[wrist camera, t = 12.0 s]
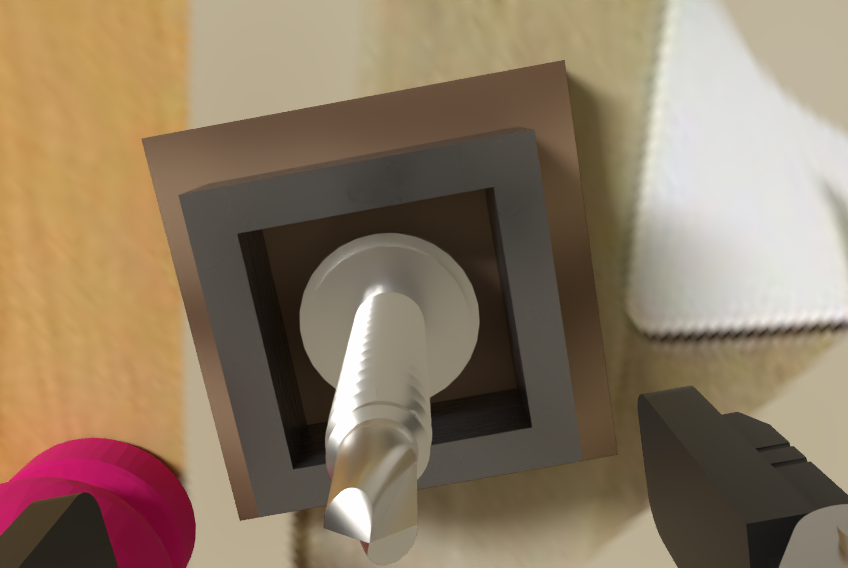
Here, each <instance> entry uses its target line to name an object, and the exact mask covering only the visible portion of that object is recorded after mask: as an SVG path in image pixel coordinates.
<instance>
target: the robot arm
mask: <svg viewBox="0 0 848 568" xmlns="http://www.w3.org/2000/svg"><path fill="white" fill-rule="evenodd" d="M638 416H639V424H640V433H641V441H642V449H643V457H644V465H645V473H646V481H647V489H648V496H649V502H650V506H651V511H652V514H653V518H654V521H655V524H656V527H657V530H658V533H659V535H660V537H661V539H662V541H663V543H664V544H665V546H666V548H667V550H668V551H669V553H670V555H671V556H672V558H673V560H674V562H675V563H676V565H677V567H678V568H848V495H847V494H846V493H845V492H844V491H843V490H842V489H841V488H839V487H838V486H837V485H836V484H835V483H834V482H833V481H832V480H831V479H829V478H828V477H827V476H826V475H825V474H824V473H823V472H822V471H821V470H819V469H818V468H817V467H816V466H815V465H814V464H813V463H812V462H807V459H806V457H805V456H804V455H803V454H802V453H801V452H799V451H798V450H797V449H796V448H795V447H794V446H790V443H789V442H788V441H787V440H786V439H785V438H784V437H783V436H782V435H781V434H779V433H778V432H777V431H776V430H775V429H774V428H773V427H772V426H771V425H769V424H767V423H764V422H762V421H759V420H757V419H754V418H752V417H749V416H747V415H744V414H742V413H739V412H734V413H729V414H723V415H721V414H720V413H719V412H718V411H717V410H716V409H715V408H714V407H713V406H712V405H711V404H710V403H709V402H708V401H707V400H706V399H705V398H704V397H703V396H702V395H701V394H700V393H699V392H698V391H697V390H696V388H694V387H693V386H686V387H681V388H675V389H669V390H664V391H658V392H652V393H647V394H641V395H640V396H639V398H638ZM0 568H118V564H117V561H116V558H115V555H114V551H113V548H112V545H111V542H110V538H109V535H108V532H107V529H106V526H105V522H104V519H103V516H102V513H101V510H100V507H99V504H98V502H97V501H96V499H95V498H94V497H93V496H92V495H91V494H90V493H87V492H83V493H78V494H72V495H66V496H61V497H55V498H50V499H44V500H38V501H34V502H32V503H31V504H30V505H28V506H27V508H26V509H25V510H24V511H23V512H22V513H21V514H20V515H19V516H18V517H17V518H16V519H15V520H14V522H13V523H12V524H11V525H10V526H9V527H8V528H7V529H6V530H5V531H4V532H3V533H2V535H1V536H0Z"/></svg>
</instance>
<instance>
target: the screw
mask: <svg viewBox="0 0 848 568" xmlns="http://www.w3.org/2000/svg"><path fill="white" fill-rule="evenodd" d="M478 330H479V309H478V302H477V299H476V296H475V293H474V290H473V286H472V284H471V282H470V280H469V278H468V277H467V275H466V273H465V271H464V270H463V268H462V267H461V266H460V265H459V263H458V262H457V261H456V260H455V259H454V258H453V257H452V256H451V255H450V254H449V253H448V252H447V251H445V250H444V249H442V248H441V247H439V246H438V245H437V244H435V243H434V242H432V241H429V240H427V239H424V238H422V237H419V236H417V235H414V234H408V233H403V232H397V231H389V232H374V233H370V234H366V235H362V236H358V237H356V238H354V239H352V240H350V241H348V242H346V243H344V244H342V245H340V246H339V247H337V248H336V249H335V250H334V251H333V252H331V253H330V254H329V255H328V256H327V257H325V258H324V260H323V261H322V262H321V263H320V265H319V266H318V267H317V269H316V270H315V271H314V272H313V274H312V276H311V278H310V280H309V282H308V284H307V287H306V289H305V291H304V293H303V298H302V303H301V307H300V332H301V336H302V340H303V344H304V348H305V350H306V352H307V354H308V356H309V358H310V361H311V363H312V365H313V366H314V367H315V368H316V370H317V371H318V372H319V373H320V375H321V376H322V377H323V378H324V380H325V381H327V382H328V383H329V384H330V385H332V386H333V387H334V388H335V389H336V392H335V396H334V400H333V403H332V408H331V412H330V415H329V419H328V426H327V430H326V436H325V447H326V457H325V458H326V466H327V470H328V473H329V476H330V478H331V480H332V483H331V487H330V492H329V497H328V502H327V507H326V511H325V516H324V528H325V529H328V530H331V531H334V532H337V533H340V534H343V535H346V536H349V537H352V538H355V539H358V540H360V542H361V545H362V547H363V549H364V551H365V553H366V555H367V557H368V559H369V560H370V561H371V562H372V563H375V564H378V565H387V564H391V563H394V562H396V561H398V560H399V559H401V558H402V557H403V556H404V555H405V554H406V553H407V552H408V551H409V550H410V548H411V547H412V545H413V544H414V541H415V538H416V536H417V529H418V502H417V480H418V479H419V477H420V476H421V475H422V474H423V472H424V470H425V469H426V467H427V464H428V461H429V457H430V446H431V442H432V427H431V413H430V410H431V409H430V397H432V396H433V395H435V394H437V393H438V392H440V391H441V390H443V389H445V388H446V387H447V386H448V385H449V384H450V383H451V382H452V381H453V380H455V379H456V378H457V377H458V376H459V375H460V373H461V372H462V370H463V369H464V367H465V366H466V364H467V363H468V361H469V360H470V358H471V355H472V353H473V350H474V348H475V345H476V342H477V337H478Z"/></svg>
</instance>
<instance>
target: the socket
mask: <svg viewBox="0 0 848 568" xmlns="http://www.w3.org/2000/svg"><path fill="white" fill-rule="evenodd" d="M484 188H485V194H486V200H487V206H488V212H489V219H490V225H491V231H492V237H493V243H494V249H495V255H496V261H497V268H498V274H499V280H500V286H501V292H502V298H503V304H504V311H505V317H506V323H507V329H508V335H509V341H510V347H511V354H512V360H513V366H514V372H515V378H516V384H517V388H514V389H508V390H503V391H497V392H491V393H486V394H480V395H474V396H469V397H463V398H457V399H452V400H446V401H440V402H435V403H430V409H431V410H430V413H431V427H432V442H431V446H430V457H429V461H428V464H427V467H426V469H425V470H424V472H423V474H422V475H421V476H420V477H419V479H418V480H417V490H418V489H424V488H429V487H435V486H441V485H446V484H452V483H458V482H464V481H469V480H475V479H481V478H487V477H492V476H498V475H504V474H509V473H515V472H521V471H527V470H532V469H538V468H544V467H550V466H555V465H561V464H567V463H572V462H578V461H583V459H582V452H581V445H580V438H579V431H578V424H577V417H576V411H575V404H574V397H573V390H572V383H571V376H570V370H569V363H568V356H567V349H566V342H565V335H564V328H563V322H562V315H561V308H560V301H559V294H558V287H557V280H556V274H555V267H554V260H553V253H552V246H551V239H550V233H549V226H548V219H547V212H546V205H545V198H544V191H543V185H542V178H541V171H540V164H539V157H538V150H537V143H536V137H535V130H534V129H529V128H524V127H512V128H507V129H501V130H496V131H490V132H485V133H480V134H474V135H469V136H463V137H458V138H452V139H447V140H442V141H436V142H431V143H425V144H420V145H414V146H409V147H404V148H398V149H393V150H387V151H382V152H376V153H371V154H366V155H360V156H355V157H349V158H344V159H338V160H333V161H328V162H322V163H317V164H311V165H306V166H301V167H295V168H290V169H284V170H279V171H273V172H268V173H263V174H257V175H252V176H246V177H241V178H235V179H230V180H225V181H219V182H214V183H209V184H206V185H203V186H201V187H198V188H195V189H193V190H190V191H188V192H185V193H182V194H180V195H178V196H179V200H180V204H181V208H182V212H183V216H184V220H185V224H186V228H187V232H188V236H189V240H190V244H191V248H192V252H193V256H194V260H195V264H196V268H197V272H198V276H199V280H200V283H201V287H202V291H203V295H204V299H205V303H206V307H207V311H208V315H209V319H210V323H211V327H212V331H213V335H214V339H215V343H216V347H217V351H218V355H219V359H220V363H221V367H222V371H223V375H224V379H225V383H226V387H227V391H228V395H229V399H230V403H231V407H232V411H233V415H234V419H235V423H236V427H237V431H238V434H239V438H240V442H241V446H242V450H243V454H244V458H245V462H246V466H247V470H248V474H249V478H250V482H251V486H252V490H253V494H254V498H255V502H256V506H257V510H258V514H259V517H263V516H269V515H275V514H280V513H286V512H292V511H298V510H303V509H309V508H315V507H320V506H326V505H327V502H328V497H329V492H330V487H331V483H332V480H331V478H330V476H329V473H328V470H327V466H326V458H325V457H326V447H325V436H326V430H327V426H328V421H327V422H322V423H316V424H310V425H307V421H306V417H305V413H304V408H303V404H302V400H301V395H300V391H299V386H298V382H297V378H296V373H295V369H294V365H293V360H292V356H291V352H290V347H289V343H288V339H287V334H286V330H285V326H284V321H283V317H282V312H281V308H280V304H279V299H278V295H277V291H276V286H275V282H274V278H273V273H272V269H271V265H270V260H269V256H268V251H267V247H266V243H265V238H264V234H263V230H262V229H265V228H271V227H276V226H282V225H287V224H293V223H298V222H304V221H309V220H315V219H320V218H326V217H331V216H337V215H342V214H348V213H353V212H359V211H364V210H369V209H375V208H380V207H386V206H391V205H397V204H402V203H408V202H413V201H419V200H424V199H430V198H435V197H441V196H446V195H452V194H457V193H462V192H468V191H473V190H479V189H484Z"/></svg>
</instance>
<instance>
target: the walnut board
mask: <svg viewBox="0 0 848 568" xmlns="http://www.w3.org/2000/svg"><path fill="white" fill-rule="evenodd" d="M512 127H524V128H529V129H534V130H535V137H536V143H537V150H538V157H539V164H540V171H541V178H542V185H543V191H544V198H545V205H546V212H547V219H548V226H549V233H550V239H551V246H552V253H553V260H554V267H555V274H556V280H557V287H558V294H559V301H560V308H561V315H562V322H563V328H564V335H565V342H566V349H567V356H568V363H569V370H570V376H571V383H572V390H573V397H574V404H575V411H576V417H577V424H578V431H579V438H580V445H581V452H582V459H583V461H584V460H590V459H596V458H601V457H607V456H613V455H618V453H617V446H616V438H615V431H614V423H613V416H612V409H611V401H610V394H609V386H608V379H607V372H606V364H605V357H604V349H603V342H602V334H601V327H600V320H599V312H598V305H597V297H596V290H595V283H594V275H593V268H592V260H591V253H590V245H589V238H588V231H587V223H586V216H585V208H584V201H583V194H582V186H581V179H580V171H579V164H578V156H577V149H576V142H575V134H574V127H573V119H572V112H571V105H570V97H569V90H568V82H567V75H566V67H565V60H562V61H557V62H552V63H546V64H541V65H535V66H530V67H525V68H519V69H514V70H509V71H503V72H498V73H492V74H487V75H482V76H476V77H471V78H466V79H460V80H455V81H449V82H444V83H439V84H433V85H428V86H422V87H417V88H412V89H406V90H401V91H396V92H390V93H385V94H379V95H374V96H369V97H363V98H358V99H353V100H347V101H342V102H336V103H331V104H326V105H320V106H316V107H310V108H304V109H299V110H294V111H288V112H283V113H278V114H272V115H267V116H261V117H256V118H250V119H246V120H240V121H234V122H229V123H224V124H218V125H213V126H207V127H202V128H197V129H191V130H186V131H180V132H175V133H170V134H164V135H159V136H154V137H148V138H143V139H142V143H143V147H144V151H145V154H146V158H147V162H148V166H149V170H150V174H151V178H152V182H153V185H154V189H155V193H156V197H157V201H158V205H159V209H160V213H161V216H162V220H163V224H164V228H165V232H166V236H167V240H168V244H169V247H170V251H171V255H172V259H173V263H174V267H175V271H176V275H177V278H178V282H179V286H180V290H181V294H182V298H183V302H184V306H185V309H186V313H187V317H188V321H189V325H190V329H191V333H192V337H193V340H194V344H195V348H196V352H197V356H198V360H199V364H200V368H201V371H202V375H203V379H204V383H205V387H206V390H207V395H208V399H209V402H210V406H211V410H212V414H213V418H214V421H215V426H216V429H217V433H218V437H219V441H220V445H221V449H222V453H223V457H224V460H225V464H226V468H227V472H228V476H229V480H230V484H231V487H232V492H233V495H234V499H235V503H236V507H237V511H238V514H239V518H240V521H241V520H246V519H252V518H257V517H259V514H258V510H257V506H256V502H255V498H254V494H253V490H252V486H251V482H250V478H249V474H248V470H247V466H246V462H245V458H244V454H243V450H242V446H241V442H240V438H239V434H238V431H237V427H236V423H235V419H234V415H233V411H232V407H231V403H230V399H229V395H228V391H227V387H226V383H225V379H224V375H223V371H222V367H221V363H220V359H219V355H218V351H217V347H216V343H215V339H214V335H213V331H212V327H211V323H210V319H209V315H208V311H207V307H206V303H205V299H204V295H203V291H202V287H201V283H200V280H199V276H198V272H197V268H196V264H195V260H194V256H193V252H192V248H191V244H190V240H189V236H188V232H187V228H186V224H185V220H184V216H183V212H182V208H181V204H180V200H179V196H178V195H180V194H182V193H185V192H188V191H190V190H193V189H195V188H198V187H201V186H203V185H206V184H209V183H214V182H219V181H225V180H230V179H235V178H241V177H246V176H252V175H257V174H263V173H268V172H273V171H279V170H284V169H290V168H295V167H301V166H306V165H311V164H317V163H322V162H328V161H333V160H338V159H344V158H349V157H355V156H360V155H366V154H371V153H376V152H382V151H387V150H393V149H398V148H404V147H409V146H414V145H420V144H425V143H431V142H436V141H442V140H447V139H452V138H458V137H463V136H469V135H474V134H480V133H485V132H490V131H496V130H501V129H507V128H512ZM262 230H263V234H264V238H265V243H266V247H267V251H268V256H269V260H270V265H271V269H272V273H273V278H274V282H275V286H276V291H277V295H278V299H279V304H280V308H281V312H282V317H283V321H284V326H285V330H286V334H287V339H288V343H289V347H290V352H291V356H292V360H293V365H294V369H295V373H296V378H297V382H298V386H299V391H300V395H301V400H302V404H303V408H304V413H305V417H306V421H307V425H310V424H316V423H322V422H327V421H328V419H329V415H330V412H331V408H332V403H333V400H334V396H335V392H336V389H335V388H334V387H333V386H332V385H330V384H329V383H328V382H327V381H325V380H324V378H323V377H322V376H321V375H320V373H319V372H318V371H317V370H316V368H315V367H314V366H313V365H312V363H311V361H310V358H309V356H308V354H307V352H306V350H305V348H304V344H303V340H302V336H301V332H300V307H301V303H302V298H303V293H304V291H305V289H306V287H307V284H308V282H309V280H310V278H311V276H312V274H313V272H314V271H315V270H316V269H317V267H318V266H319V265H320V263H321V262H322V261H323V260H324V258H325V257H327V256H328V255H329V254H330V253H331V252H333V251H334V250H335V249H336V248H337V247H339V246H340V245H342V244H344V243H346V242H348V241H350V240H352V239H354V238H356V237H358V236H362V235H366V234H370V233H374V232H389V231H397V232H403V233H408V234H414V235H417V236H419V237H422V238H424V239H427V240H429V241H432V242H434V243H435V244H437V245H438V246H439V247H441V248H442V249H444V250H445V251H447V252H448V253H449V254H450V255H451V256H452V257H453V258H454V259H455V260H456V261H457V262H458V263H459V265H460V266H461V267H462V268H463V270H464V271H465V273H466V275H467V277H468V278H469V280H470V282H471V284H472V286H473V290H474V293H475V296H476V299H477V302H478V309H479V330H478V337H477V342H476V345H475V348H474V350H473V353H472V355H471V358H470V360H469V361H468V363H467V364H466V366H465V367H464V369H463V370H462V372H461V373H460V375H459V376H458V377H457V378H456V379H455V380H453V381H452V382H451V383H450V384H449V385H448V386H447V387H446V388H445V389H443V390H441V391H440V392H438V393H437V394H435V395H433V396H432V397H430V403H435V402H440V401H446V400H452V399H457V398H463V397H469V396H474V395H480V394H486V393H491V392H497V391H503V390H508V389H514V388H517V384H516V378H515V372H514V366H513V360H512V354H511V347H510V341H509V335H508V329H507V323H506V317H505V311H504V304H503V298H502V292H501V286H500V280H499V274H498V268H497V261H496V255H495V249H494V243H493V237H492V231H491V225H490V219H489V212H488V206H487V200H486V194H485V188H484V189H479V190H473V191H468V192H462V193H457V194H452V195H446V196H441V197H435V198H430V199H424V200H419V201H413V202H408V203H402V204H397V205H391V206H386V207H380V208H375V209H369V210H364V211H359V212H353V213H348V214H342V215H337V216H331V217H326V218H320V219H315V220H309V221H304V222H298V223H293V224H287V225H282V226H276V227H271V228H265V229H262ZM578 462H579V461H578ZM572 463H573V462H572ZM555 466H556V465H555ZM532 470H533V469H532ZM515 473H516V472H515ZM509 474H510V473H509ZM492 477H493V476H492ZM469 481H470V480H469ZM452 484H453V483H452ZM446 485H447V484H446ZM429 488H430V487H429ZM326 506H327V505H326ZM320 507H321V506H320ZM303 510H304V509H303ZM280 514H281V513H280ZM263 517H264V516H263Z"/></svg>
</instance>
